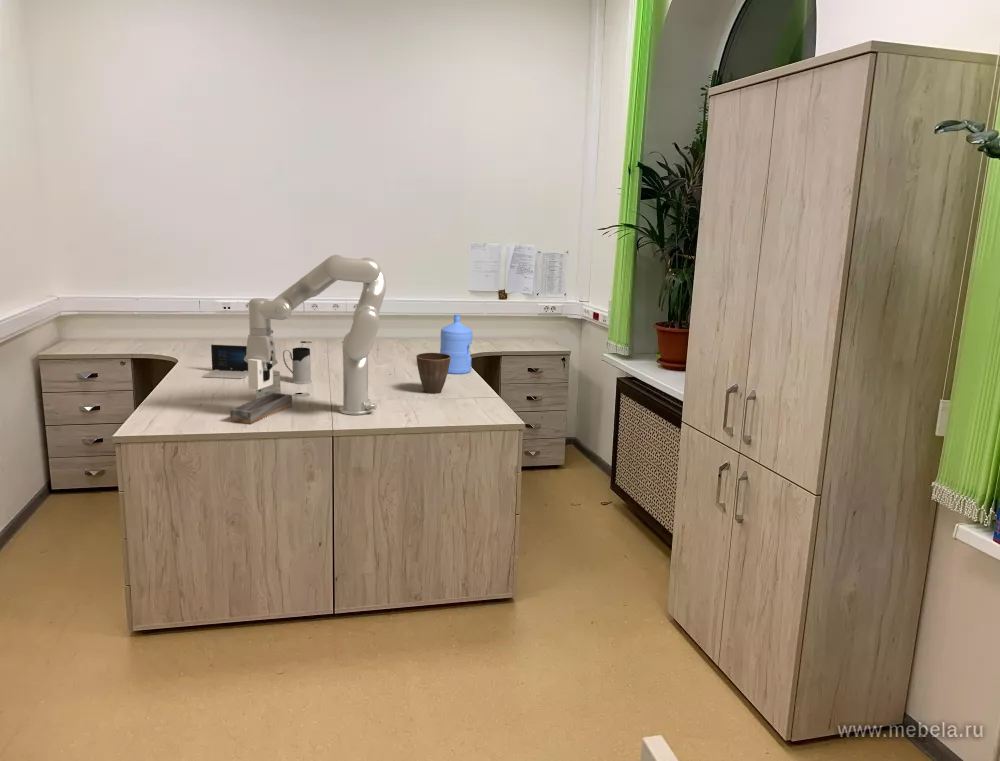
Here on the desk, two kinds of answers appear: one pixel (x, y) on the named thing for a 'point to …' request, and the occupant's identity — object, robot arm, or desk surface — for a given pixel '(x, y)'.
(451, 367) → the water jug
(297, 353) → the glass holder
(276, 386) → the ink box
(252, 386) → the white rectangular box
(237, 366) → the laptop
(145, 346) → the desk surface
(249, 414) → the door track
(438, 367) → the plant pot
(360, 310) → the robot arm
